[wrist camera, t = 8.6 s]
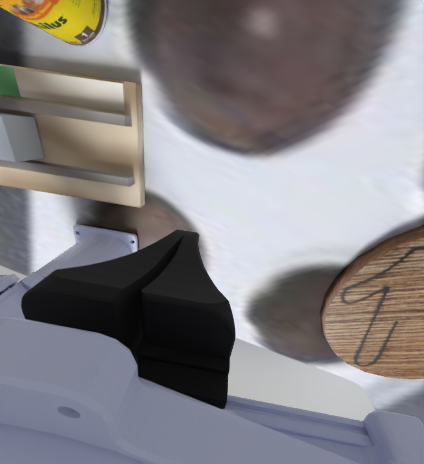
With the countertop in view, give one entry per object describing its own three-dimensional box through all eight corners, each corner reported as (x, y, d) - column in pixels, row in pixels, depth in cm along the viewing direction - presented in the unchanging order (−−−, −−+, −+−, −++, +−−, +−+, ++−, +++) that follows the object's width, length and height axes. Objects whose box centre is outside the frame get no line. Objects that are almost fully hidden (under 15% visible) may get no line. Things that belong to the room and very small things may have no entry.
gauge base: (145, 204, 22) (125, 219, 18) (-21, 177, 23) (-75, 186, 19) (141, 85, 17) (113, 71, 13) (-71, 56, 18) (-158, 34, 14)
